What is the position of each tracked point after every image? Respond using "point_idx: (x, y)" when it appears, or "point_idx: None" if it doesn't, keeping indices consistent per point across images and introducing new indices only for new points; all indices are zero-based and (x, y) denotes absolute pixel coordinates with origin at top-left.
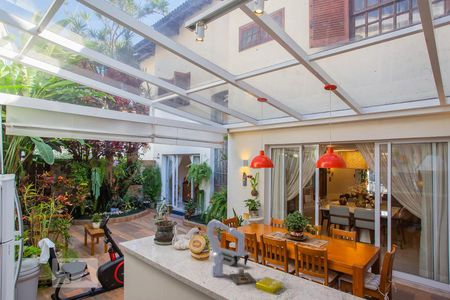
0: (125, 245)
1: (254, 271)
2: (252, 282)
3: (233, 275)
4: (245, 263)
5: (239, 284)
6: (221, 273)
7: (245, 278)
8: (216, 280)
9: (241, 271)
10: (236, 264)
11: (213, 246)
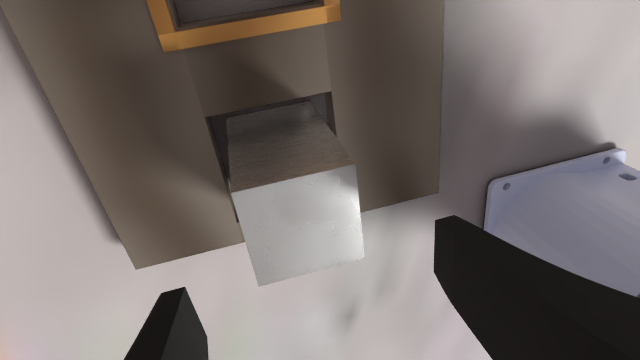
0: None
1: (32, 343)
2: None
3: (399, 145)
4: (175, 322)
5: None
6: (541, 196)
7: (203, 22)
8: (635, 38)
9: (286, 153)
10: (482, 231)
11: None
